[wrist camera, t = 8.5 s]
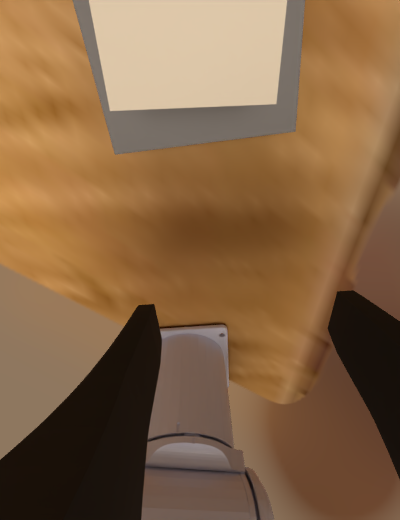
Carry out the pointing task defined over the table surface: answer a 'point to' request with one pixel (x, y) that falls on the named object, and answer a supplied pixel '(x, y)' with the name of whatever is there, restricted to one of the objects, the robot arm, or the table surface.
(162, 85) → the cream cube
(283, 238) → the table surface
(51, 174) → the table surface
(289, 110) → the charcoal base
